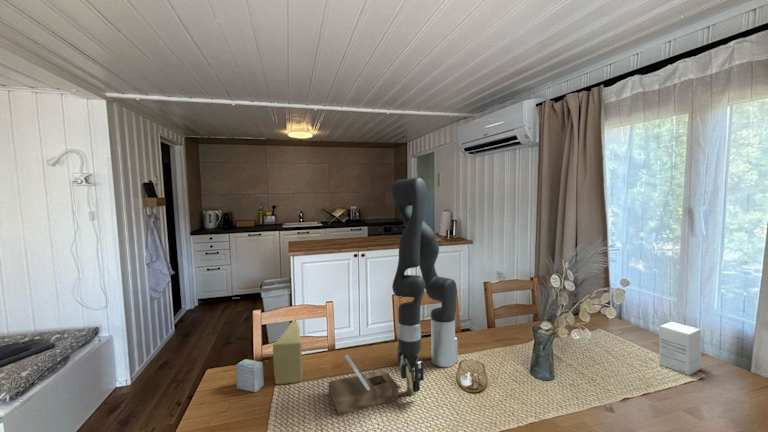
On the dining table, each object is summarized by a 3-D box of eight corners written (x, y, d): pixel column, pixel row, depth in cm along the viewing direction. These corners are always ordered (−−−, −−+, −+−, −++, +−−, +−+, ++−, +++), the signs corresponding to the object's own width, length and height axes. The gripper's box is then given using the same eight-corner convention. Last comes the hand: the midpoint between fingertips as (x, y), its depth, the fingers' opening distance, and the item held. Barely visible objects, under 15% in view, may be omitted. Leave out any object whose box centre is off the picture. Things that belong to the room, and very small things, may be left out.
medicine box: (264, 386, 111) (263, 361, 110) (255, 393, 107) (254, 368, 106) (246, 382, 113) (245, 358, 113) (236, 389, 109) (235, 364, 109)
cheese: (284, 355, 133) (283, 320, 132) (308, 353, 134) (307, 318, 134) (273, 385, 111) (272, 343, 110) (302, 382, 112) (300, 341, 112)
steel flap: (358, 375, 108) (360, 373, 108) (368, 391, 99) (370, 389, 99) (344, 355, 106) (347, 353, 106) (353, 370, 97) (356, 367, 97)
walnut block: (384, 379, 113) (384, 368, 113) (398, 398, 102) (398, 386, 102) (328, 393, 105) (328, 381, 105) (338, 415, 94) (337, 402, 94)
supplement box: (670, 358, 123) (670, 320, 123) (701, 369, 115) (701, 328, 114) (657, 364, 119) (658, 325, 119) (688, 376, 111) (689, 333, 111)
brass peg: (413, 389, 107) (412, 363, 106) (417, 394, 104) (417, 367, 104) (405, 391, 106) (404, 365, 105) (409, 396, 103) (408, 369, 102)
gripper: (430, 342, 99) (431, 393, 99) (409, 326, 112) (410, 371, 113) (408, 346, 96) (409, 399, 97) (390, 329, 109) (391, 376, 110)
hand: (410, 384), depth 105 cm, fingers open, 8 cm apart
